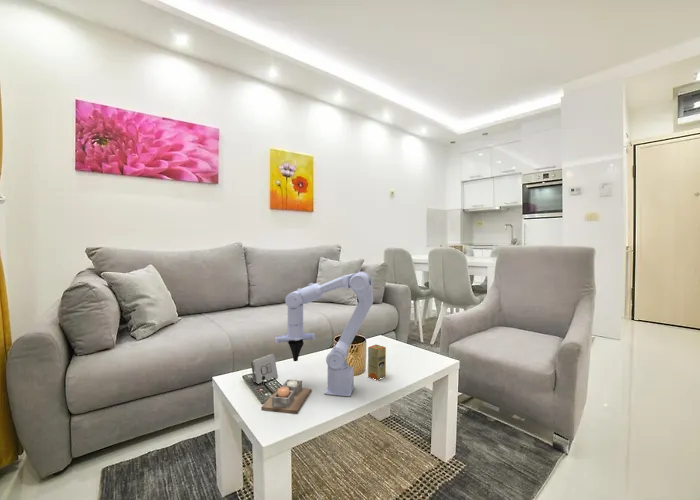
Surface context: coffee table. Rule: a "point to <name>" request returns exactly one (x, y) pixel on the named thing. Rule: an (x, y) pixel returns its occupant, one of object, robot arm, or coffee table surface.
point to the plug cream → (292, 383)
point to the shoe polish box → (376, 362)
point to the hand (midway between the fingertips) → (295, 360)
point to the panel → (288, 399)
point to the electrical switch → (264, 368)
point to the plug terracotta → (283, 392)
